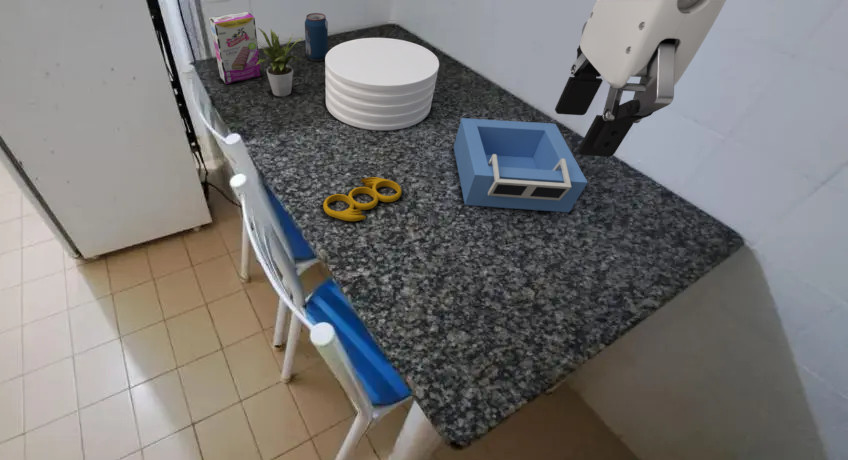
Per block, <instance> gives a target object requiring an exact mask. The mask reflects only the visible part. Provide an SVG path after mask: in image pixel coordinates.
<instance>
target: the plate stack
mask: <svg viewBox="0 0 848 460" xmlns="http://www.w3.org/2000/svg"><path fill="white" fill-rule="evenodd" d="M324 61H325V62H324V67H325V69H324V70H325V71H324V76H325V78H324V81H325V106H326V109H327V111H328V113H330V114H331V115H332V116H333V118H335V119H336V120H339V122H342V123H344V124H346V125H349V126H351V127H354V128H359V129H363V130H369V131H394V130H395V131H396V130H402V129H406V128H410V127H412V126H415V125H417V124H419V123H420V122H422V121H423V120H425V119H426V118H427V117H428V115H429V114H430V112H431V108H432V102H433V98H434V94H435V93H434V92H435V88H436V83H437V79H438V74H439V73H438V72H439V68H440V61H439V58H438V57H437V56H436V55H435V53H434V52H432V50H430V49H428V48H427V47H425V46H422V45H420V44H417V43H414V42H411V41H407V40H403V39H397V38H389V37H366V38H365V37H363V38H357V39H352V40H347V41H344V42H341V43H339V44H337V45H335V46H334V47H333V46H332V48H331V49H328V53H327V54H326V57H325V59H324Z"/></svg>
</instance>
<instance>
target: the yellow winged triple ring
mask: <svg viewBox="0 0 848 460" xmlns="http://www.w3.org/2000/svg"><path fill="white" fill-rule="evenodd" d="M360 183H363V185H364V186H356V187H355V188H352V190H350V191H349V192H348V195H346V194H343V193H334V194H331V195H329V196H328V197H326V198H325V199H324V201H323V204H322V206H323V207H322V209H323V211H324V213H326V215H328V216H329V217H332V218H334V219H338V220H341V221H344V222H359V221H362V220H365V219H366V218H367V216H366V215H363V211H368V210H371V209H373V208H375V207H376V206H377V205H378V202H382V203H393V202H396V201H397V200H399V199H400V198H401V197H402V187H401V185H400V184H398V183H397V182H396V181H394V180H391V179H387V178H382V177H377V176H369V177H363V178H361V179H360ZM382 187H383V188H384V187H388V188H392V189H393V190H395V191H396V193H394V194H391V195H385V194H381V193H380V192H379V191H377V190H378V189H380V188H382ZM359 194H366V195H369V196H370V197H372V199H373V200H372V201H370V202H367V203H363V202H359V201H356V200H355V199H354V198H353V197H355V196H356V195H359ZM338 201H339V202H344V203H346V204H347V205H349V207H348V208H346V209H344V210H334V209H331V207H329V204H331V203H333V202H338Z"/></svg>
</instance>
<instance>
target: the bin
mask: <svg viewBox="0 0 848 460" xmlns="http://www.w3.org/2000/svg"><path fill="white" fill-rule="evenodd" d="M453 151H454V157H455V162H456V165H457V172H458V177H459V182H460V188H461V192H462V198H463V202H464V206H476V207H487V208H500V209H514V210H515V209H517V210H528V211H529V210H531V211H542V212H543V211H544V212H558V213H570V212H571V210H572V209H573V207H574V206H575V204H576V203H577V200H578V199H579V198H580V196H581V194H582V192H583V191H584V189H585V188H586V186H587V184H588V180H587V179H586V177H585V175H584V173H583V171H582V169H581V168H580V166H579V164H578V162H577V161H576V159H575V156H574V155H573V153H572V151H571V149H570V147H569V146H568V144H567V141H566V140H565V138H564V137H563V135H562V132H561V131H560V129H559V127H558V126H557V124H556V123H553V122H552V123H551V122H550V123H549V122H535V121H534V122H532V121H519V120H518V121H517V120H516V121H515V120H499V119H482V118H467V117H466V118H465V117H461V118H460V122H459V125H458V130H457V133H456V137H455V140H454V144H453ZM493 154H497V162H498V170H499V178H500V179H510V180H525V181H540V182H554V183H564V179H563V174H562V169H561V168H560V169H559V170H558V171H555V170H553V169H554V167H555V166H556V165H557V164H558V162H559V161H560V160H561V158H562V159H565V161H566V165H567V169H568V174H569V178H570V182H571V188H570V189H569V190H568V192H567V193H566V194H565V195H564V196H563V197H562V198H561V199H560V200H545V199H531V198H517V197H502V196H488V191H489V189H490V188H491V186H492V184H493V182H494V172H493V165H492V166H488V162H489V161H490V159H491V157H492V155H493Z"/></svg>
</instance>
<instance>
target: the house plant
mask: <svg viewBox="0 0 848 460" xmlns="http://www.w3.org/2000/svg"><path fill="white" fill-rule="evenodd" d="M257 29H258V30H259V31H260V32H261V33H262V35H263V37H264V39H265V42H266V43H267V45H268V47H261V50H263V54H265V55H266V56H268V58H269V59H270V60H268V59H266V58H260V56H259V57H257V58H259V60H258V62H257V64H259V63H260V64H261V63H265V64H267V65H268V67H267V68H266V71H265V72H266V75H267V78H268V81H269V85H270V89H271V92H272V94H273V96H276V97H287V96H290V95H291V93H292V87H293V75H294V68H293V67H292V66H291V64H292V63H293V62H295V61H297V60H298V61H299V60H300V61H302V59H301V58H299V57H297V56H296V55H288V54H289V52H290V51H291V49H293V47H294V46H295V45H296V44H297V43H298V42H300V41H301V40H304V39H305V37H303V38H299V39H297V40H296V41H295V42H294V43H293V44H292V45H291V46H290V43H291V41H292V38H293V34H294V33H292V34H291V36H290V38H289V40H288V41H287V44H286V46H283V47H281V44H280V39H279V37H280V35H277V33H276V32H275V31H273V30H272V29H270V37H271V38H270V39H269V37H268V35H267V33H266V32H265V31H264V30H262V29H261V28H259V27H257ZM250 40H254V39H250ZM270 40H271V41H270ZM255 41H257V42H256V43H257V44H259V45H258V46H261V41H258V39H257V40H255ZM289 46H290V47H289ZM251 57H256V56H251ZM291 59H293V60H292V61H291ZM266 61H267V62H266ZM289 61H291V62H290V63H289ZM268 62H269V63H270V64H268ZM288 63H289V64H288ZM257 64H256V65H257Z"/></svg>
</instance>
